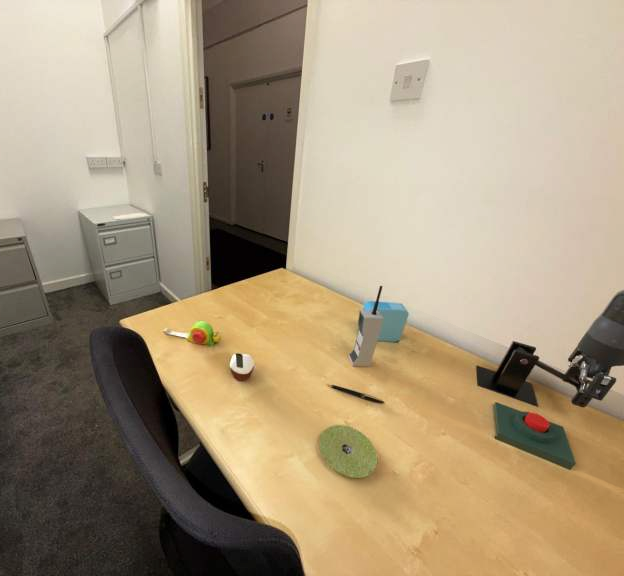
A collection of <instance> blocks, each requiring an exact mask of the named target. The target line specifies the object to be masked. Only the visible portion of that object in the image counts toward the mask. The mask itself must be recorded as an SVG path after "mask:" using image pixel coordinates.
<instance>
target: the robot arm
mask: <svg viewBox="0 0 624 576" xmlns="http://www.w3.org/2000/svg"><path fill="white" fill-rule="evenodd" d="M567 362H569V363H568V365H567V367H568V369H567V370H566V371H565V373H564V374H565V375H567V376H569V377H570V378H572V376H578V377H580V378H579V381H580V382H581V387H580V390H579V391H578V392H577V391H576V393H575V395H574V396H573V397H572V399H571V400H570V402H571V404H572V405H574V406H576V407H579V408H582V409H583V408H586V407H587V406H588V405H589V404H590V402H591V401H592V400H597V401H600V402H601V401H603V399H604V398H605V397H606V395H608V393H609V392H610V391H611V390H612V388H613V387H614V385H615V384H616V382H617V378H616V377H614V376H611V375H610V373H611V369H612V368H613V367H614V368H615V367H623V366H624V289H622V290H619V291H617V292H616V293H615V294H614V295H613V296H612V297H611V299H610V300H609V302H608V303H607V304H606V305H605V307H604V309H603V310H602V312H601V313H600V314H599V315H598V316H597V317H596V318H595V319H594V320H593V322H592V323H591V324H590V326H589V328H588V329H587V330H586V332H585V333H584V335H583V336H582V337H581V339H580V340H579V342H578V343H577V345H576V347H575V348H574V350H573V351H572V352H571V354H570V355H569V357H568V358H567ZM590 379H591V380H590ZM562 382H564V383H567V384H569V383H568V382H566V381H564V380H562Z"/></svg>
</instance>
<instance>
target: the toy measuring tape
mask: <svg viewBox="0 0 624 576" xmlns="http://www.w3.org/2000/svg"><path fill="white" fill-rule="evenodd" d="M189 331H190V332H189V333H188V332H178V331H173V330H170V327H165V328H164V329H163V331H162V333H163V334H164V335H169V336H170V335H171V336H176V337H180V338H185V339H186V341H187V342H189V343H194V344H198V345H207V346H214V344H215V343H218V342H219V341H220V340H221V335H220V334H219V332H218V331H215V333H214V328H213V326H212V325H211V324H210V323H209V322H207V321H203V320H200V321H197V322H195V324H194V325H193V326H192V327H191V328H190V330H189Z"/></svg>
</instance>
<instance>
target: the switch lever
mask: <svg viewBox="0 0 624 576" xmlns="http://www.w3.org/2000/svg"><path fill="white" fill-rule="evenodd" d="M516 350H519V351H522V352H526V353H529V354H532V353H531V352H529V351H527V350H525V349H524V348H522V347H520V346H519V347H518V348H517V349H516ZM513 352H514V351H513ZM513 352H512V354H513ZM535 367H538V368H539V369H542V370H544V371H545V372H547V373H548V374H551V375H553V376H555V377H556V378H559V379H560V380H562V381H563V380H564V381H566V382H565V383H567V382H568V383H567V384H570V385H572V386H573V387H575V390H576V393H577V392H578V391H579V390H580V387H581V382H580V381H579V378H580V377H578V376H572V378H570V377H569V376H567V375H565V373H564V372H561V371H559V370H557V369H556V368H554V367H552V366H549V365H548V364H546V363H544V362H542V361H541V360H538V362H537V363H536V365H535ZM564 381H563V382H564Z"/></svg>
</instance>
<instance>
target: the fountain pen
mask: <svg viewBox="0 0 624 576" xmlns="http://www.w3.org/2000/svg"><path fill="white" fill-rule="evenodd" d="M326 386H328V387H331V389H334V390H337V391H341V392H343V393H345V394H348V395H352V396H355V397H358V398H361V399H362V400H363V399H364V400H367V401H370V402H374V403H379V404H385V403H386V402H385V401H384V400H382V399H380V398H378V397H376V396H373V395H370V394H367V393H364V392H360V391H357V390H353V389H350V388H346V387H342V386H340V385H339V386H338V385H335V384H329V383H326Z"/></svg>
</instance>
